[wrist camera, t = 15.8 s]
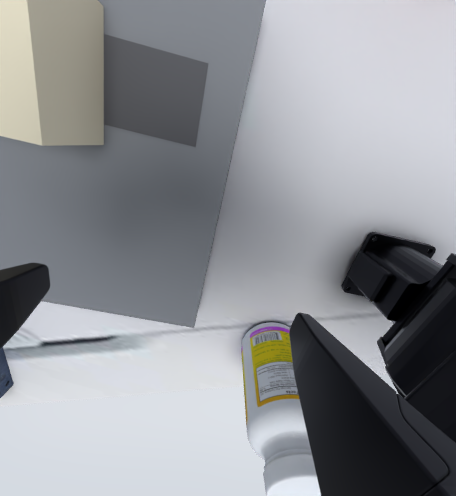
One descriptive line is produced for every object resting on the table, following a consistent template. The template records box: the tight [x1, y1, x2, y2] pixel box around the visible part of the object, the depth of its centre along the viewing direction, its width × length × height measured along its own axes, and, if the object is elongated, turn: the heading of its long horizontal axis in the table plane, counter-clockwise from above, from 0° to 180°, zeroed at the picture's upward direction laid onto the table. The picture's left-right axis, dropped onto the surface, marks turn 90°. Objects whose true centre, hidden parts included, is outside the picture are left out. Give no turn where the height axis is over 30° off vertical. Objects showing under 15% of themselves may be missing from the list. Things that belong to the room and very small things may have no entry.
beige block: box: [0, 0, 104, 146], centre depth 11 cm, size 7×7×5 cm
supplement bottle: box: [241, 322, 321, 496], centre depth 21 cm, size 7×7×13 cm
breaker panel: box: [0, 0, 266, 328], centre depth 17 cm, size 18×24×4 cm
